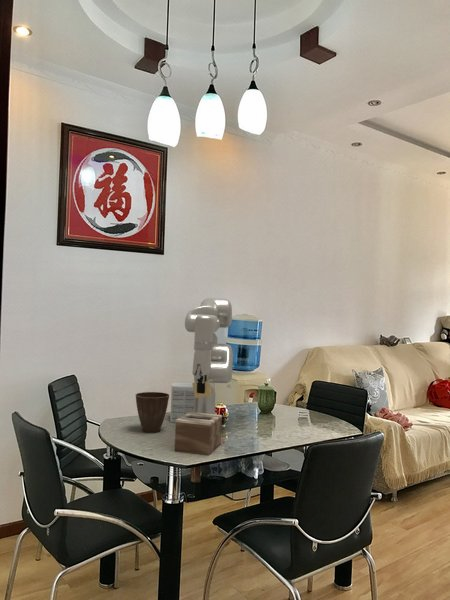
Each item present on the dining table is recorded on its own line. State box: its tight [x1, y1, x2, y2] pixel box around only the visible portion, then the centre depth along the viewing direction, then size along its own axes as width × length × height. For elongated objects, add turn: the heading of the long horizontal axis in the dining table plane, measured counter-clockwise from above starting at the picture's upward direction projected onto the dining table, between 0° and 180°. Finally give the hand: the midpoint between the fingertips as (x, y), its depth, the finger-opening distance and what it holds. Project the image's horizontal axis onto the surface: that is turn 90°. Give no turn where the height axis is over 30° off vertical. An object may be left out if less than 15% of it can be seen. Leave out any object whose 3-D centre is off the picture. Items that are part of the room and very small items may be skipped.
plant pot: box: [135, 391, 170, 433], centre depth 228 cm, size 15×15×16 cm
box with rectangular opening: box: [174, 412, 223, 456], centre depth 204 cm, size 16×14×12 cm
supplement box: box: [170, 381, 194, 423], centre depth 252 cm, size 13×13×18 cm
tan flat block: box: [191, 380, 212, 398], centre depth 204 cm, size 2×6×6 cm
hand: (201, 392), depth 204 cm, fingers closed on tan flat block, 2 cm apart
